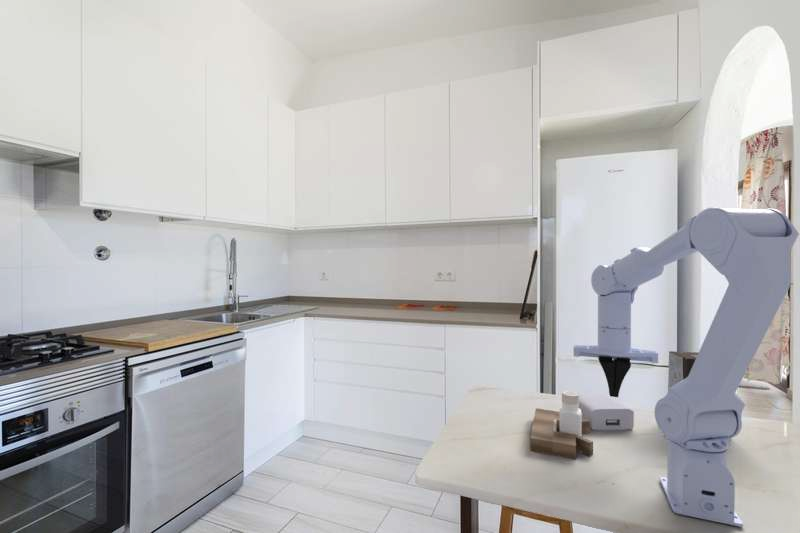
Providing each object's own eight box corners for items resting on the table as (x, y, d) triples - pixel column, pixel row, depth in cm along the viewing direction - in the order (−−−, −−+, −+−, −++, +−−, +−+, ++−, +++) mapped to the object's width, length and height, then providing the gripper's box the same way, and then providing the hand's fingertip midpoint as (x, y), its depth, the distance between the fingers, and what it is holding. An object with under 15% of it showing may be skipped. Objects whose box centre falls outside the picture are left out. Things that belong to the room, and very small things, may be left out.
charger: (596, 404, 98) (633, 430, 83) (560, 405, 98) (591, 431, 83) (596, 386, 98) (633, 408, 83) (560, 386, 98) (591, 409, 83)
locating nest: (594, 462, 70) (594, 448, 70) (530, 450, 74) (530, 437, 74) (589, 427, 85) (589, 415, 85) (535, 419, 89) (535, 408, 89)
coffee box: (684, 434, 81) (685, 358, 81) (666, 422, 87) (666, 350, 87) (731, 436, 80) (732, 359, 80) (710, 423, 86) (710, 351, 86)
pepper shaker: (559, 434, 81) (559, 389, 81) (580, 437, 80) (580, 391, 80) (559, 442, 78) (559, 395, 78) (581, 445, 76) (581, 397, 76)
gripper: (652, 325, 77) (652, 393, 78) (573, 321, 83) (572, 384, 83) (661, 331, 71) (660, 405, 71) (574, 326, 76) (574, 395, 77)
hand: (613, 395), depth 77 cm, fingers closed
